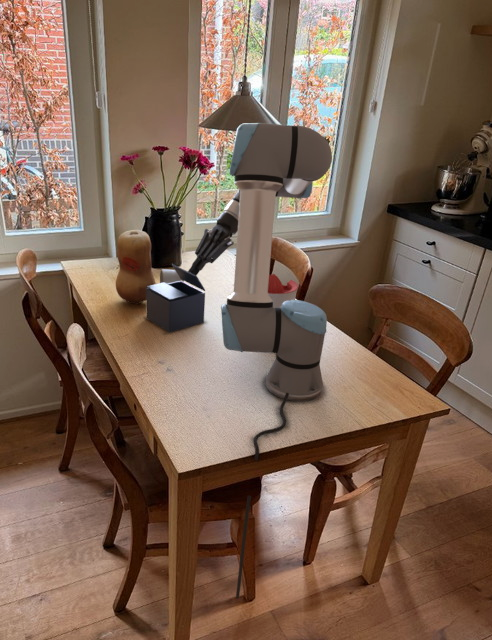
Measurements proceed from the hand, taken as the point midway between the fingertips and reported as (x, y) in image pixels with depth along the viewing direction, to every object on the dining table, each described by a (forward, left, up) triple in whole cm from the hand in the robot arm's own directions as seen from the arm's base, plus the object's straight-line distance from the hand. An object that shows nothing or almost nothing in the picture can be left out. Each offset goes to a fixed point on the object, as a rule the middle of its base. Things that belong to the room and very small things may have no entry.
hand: (190, 276), depth 173 cm
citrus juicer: (-4, -27, -14) cm, 31 cm away
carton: (-4, +4, -14) cm, 15 cm away
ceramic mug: (+24, +13, -14) cm, 30 cm away
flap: (-1, 0, 0) cm, 1 cm away
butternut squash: (+7, +21, -14) cm, 26 cm away
